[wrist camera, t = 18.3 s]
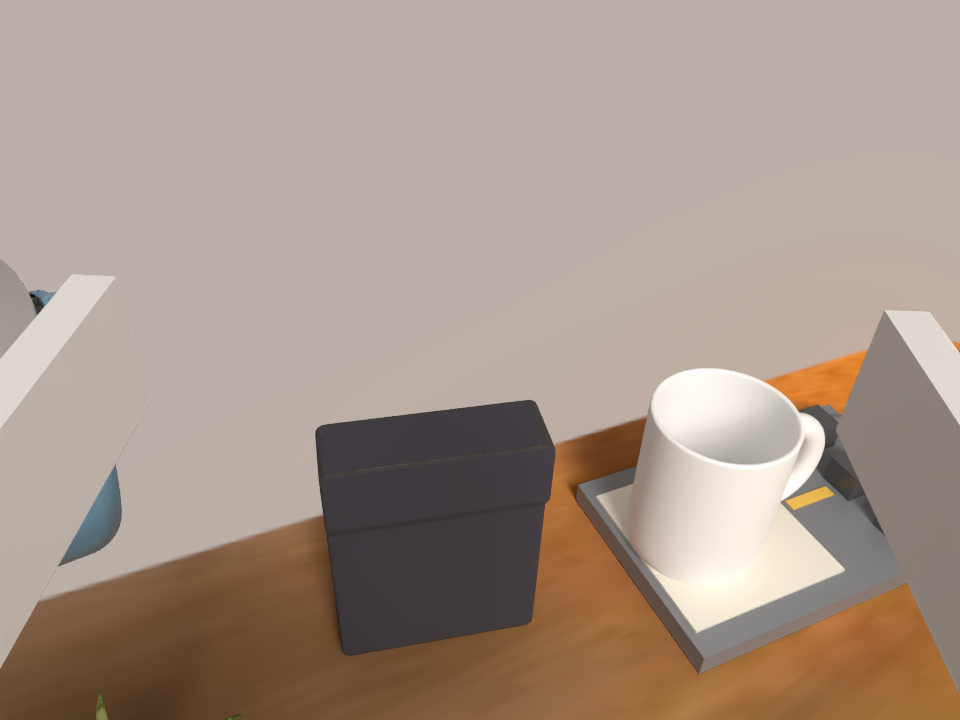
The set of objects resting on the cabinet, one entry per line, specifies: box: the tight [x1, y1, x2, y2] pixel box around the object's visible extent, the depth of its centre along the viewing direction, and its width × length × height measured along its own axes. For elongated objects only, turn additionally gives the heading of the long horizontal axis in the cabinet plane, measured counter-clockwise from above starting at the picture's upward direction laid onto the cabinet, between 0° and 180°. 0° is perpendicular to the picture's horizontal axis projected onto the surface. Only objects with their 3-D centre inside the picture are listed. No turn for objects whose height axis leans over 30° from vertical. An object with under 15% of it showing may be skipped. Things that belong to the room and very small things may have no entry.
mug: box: [627, 368, 825, 586], centre depth 47 cm, size 12×8×10 cm
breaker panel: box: [576, 405, 907, 674], centre depth 52 cm, size 22×14×4 cm, turn 114°
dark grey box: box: [315, 400, 555, 655], centre depth 42 cm, size 11×4×15 cm, turn 102°
